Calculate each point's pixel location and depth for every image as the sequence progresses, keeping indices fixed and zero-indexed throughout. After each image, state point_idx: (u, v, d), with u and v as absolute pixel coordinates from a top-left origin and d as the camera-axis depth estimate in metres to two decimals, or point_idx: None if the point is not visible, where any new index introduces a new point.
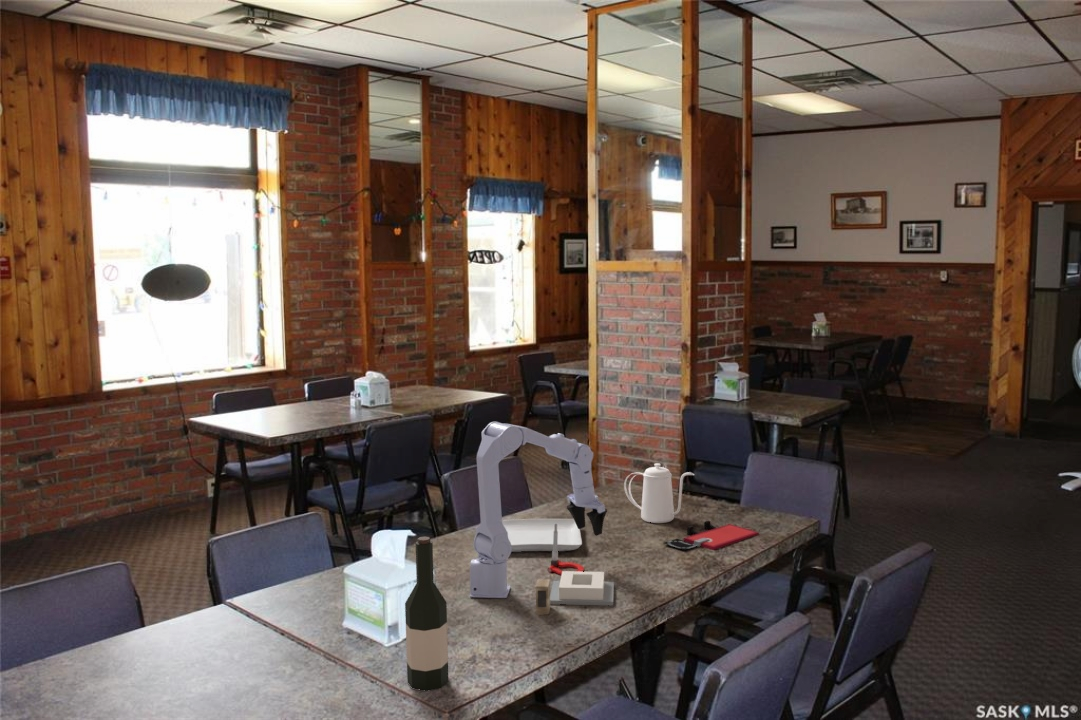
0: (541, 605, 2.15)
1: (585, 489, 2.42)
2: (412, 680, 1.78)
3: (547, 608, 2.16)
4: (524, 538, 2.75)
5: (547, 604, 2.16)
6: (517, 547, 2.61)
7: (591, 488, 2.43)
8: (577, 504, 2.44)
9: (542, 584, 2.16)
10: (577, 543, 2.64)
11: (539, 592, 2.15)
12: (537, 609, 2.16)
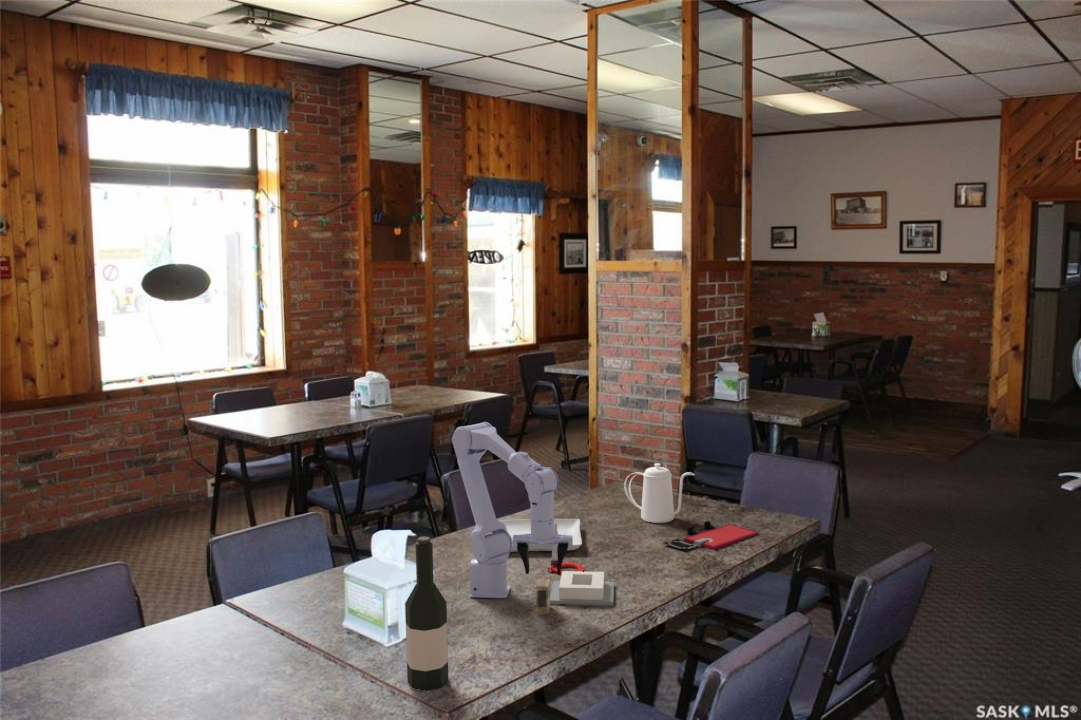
0: (541, 605, 2.15)
1: None
2: (412, 680, 1.78)
3: (547, 608, 2.16)
4: None
5: (547, 604, 2.16)
6: None
7: (531, 522, 2.16)
8: None
9: (542, 584, 2.16)
10: (577, 543, 2.64)
11: (539, 592, 2.15)
12: (537, 609, 2.16)
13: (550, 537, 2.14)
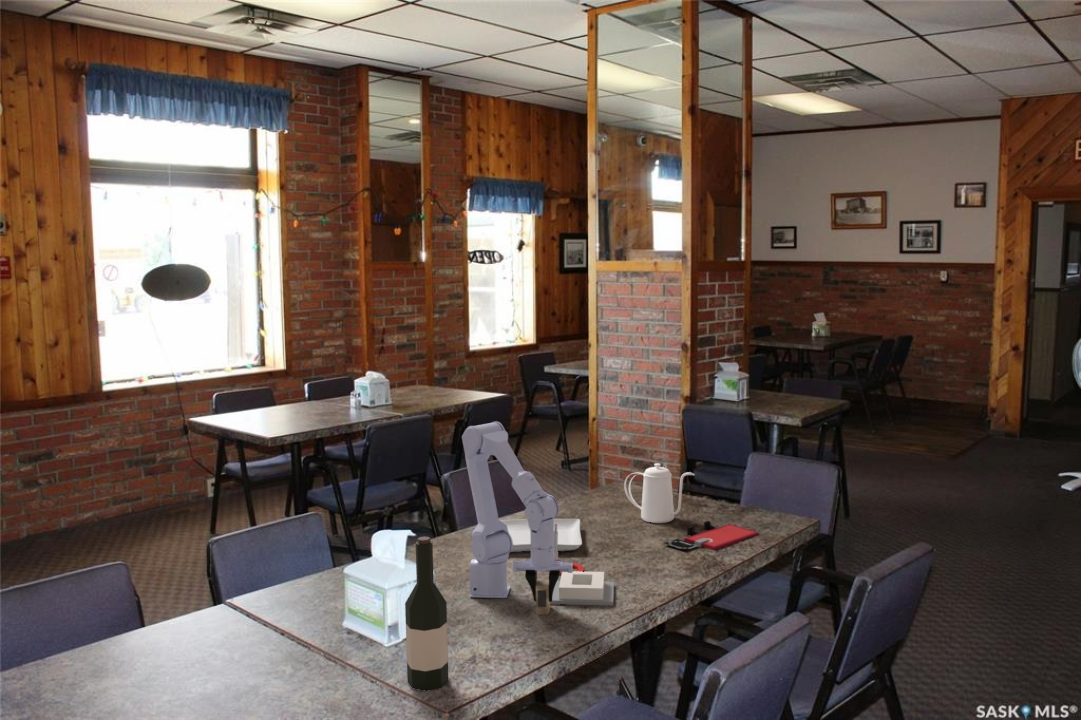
0: (541, 605, 2.15)
1: None
2: (412, 680, 1.78)
3: (547, 608, 2.16)
4: (524, 538, 2.75)
5: (547, 604, 2.16)
6: (517, 547, 2.61)
7: (531, 549, 2.16)
8: None
9: (542, 584, 2.16)
10: (577, 543, 2.64)
11: (539, 592, 2.15)
12: (537, 609, 2.16)
13: (550, 565, 2.15)
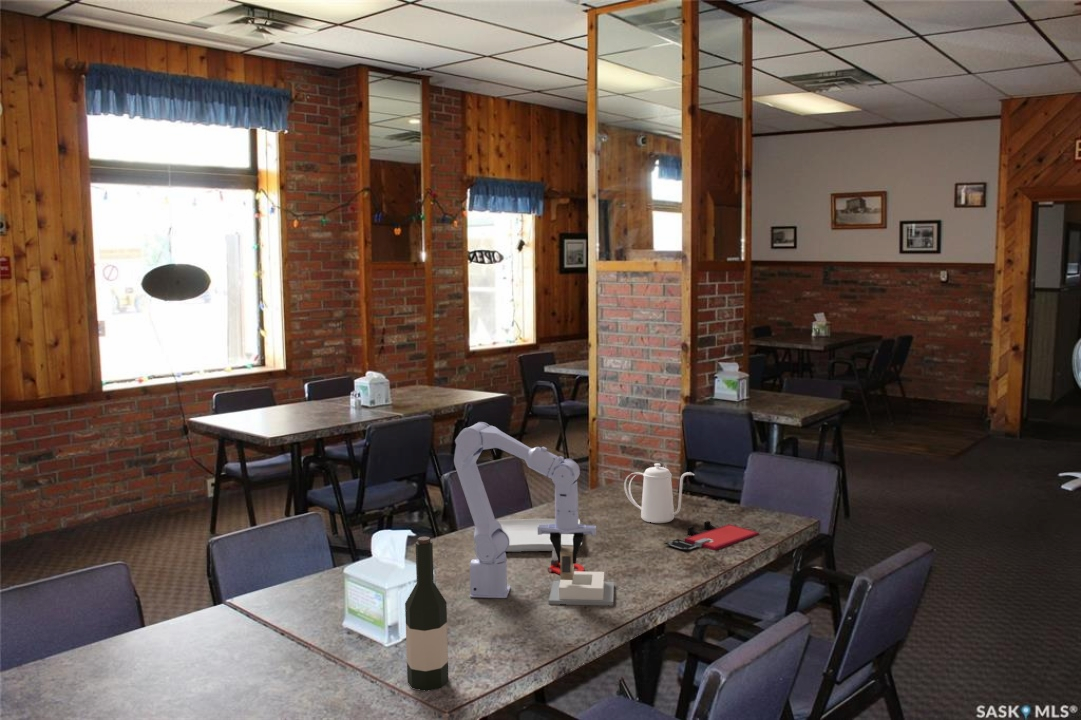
0: (565, 571, 2.20)
1: None
2: (412, 680, 1.78)
3: (571, 574, 2.21)
4: (524, 538, 2.75)
5: (571, 570, 2.21)
6: (517, 547, 2.61)
7: (555, 512, 2.22)
8: None
9: (566, 550, 2.22)
10: None
11: (563, 558, 2.20)
12: (561, 575, 2.21)
13: (574, 527, 2.20)
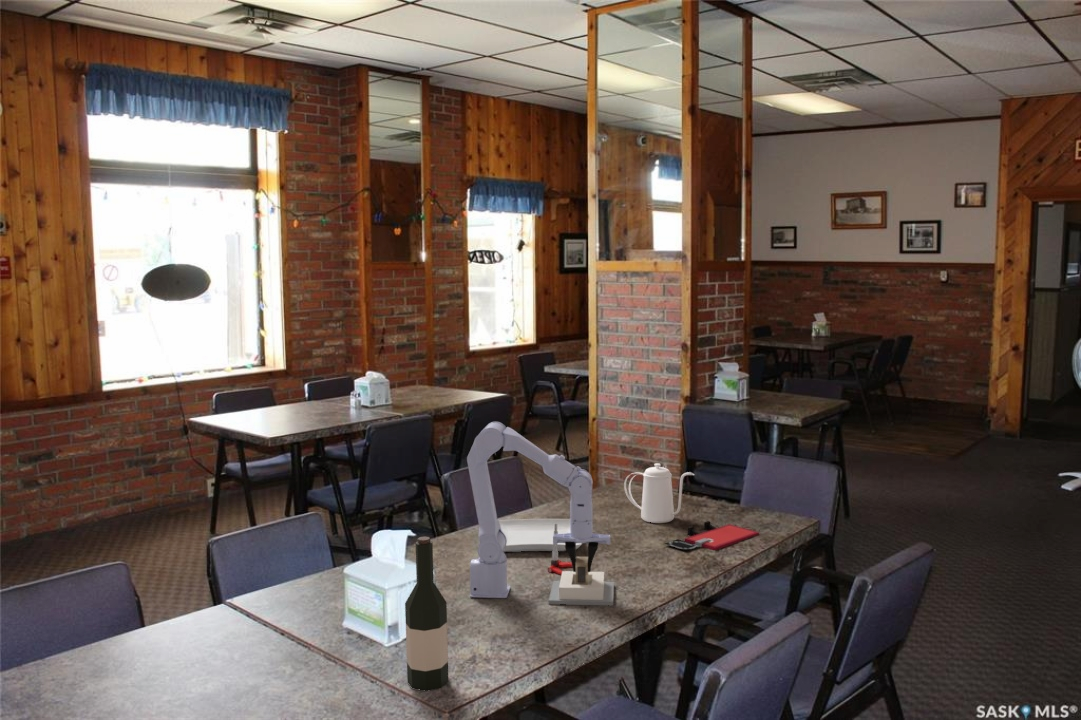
0: (580, 581, 2.25)
1: None
2: (412, 680, 1.78)
3: (586, 583, 2.25)
4: (524, 538, 2.75)
5: (586, 580, 2.25)
6: (517, 547, 2.61)
7: (570, 522, 2.26)
8: None
9: (581, 561, 2.26)
10: (577, 543, 2.64)
11: (579, 568, 2.25)
12: (577, 584, 2.25)
13: (589, 536, 2.25)
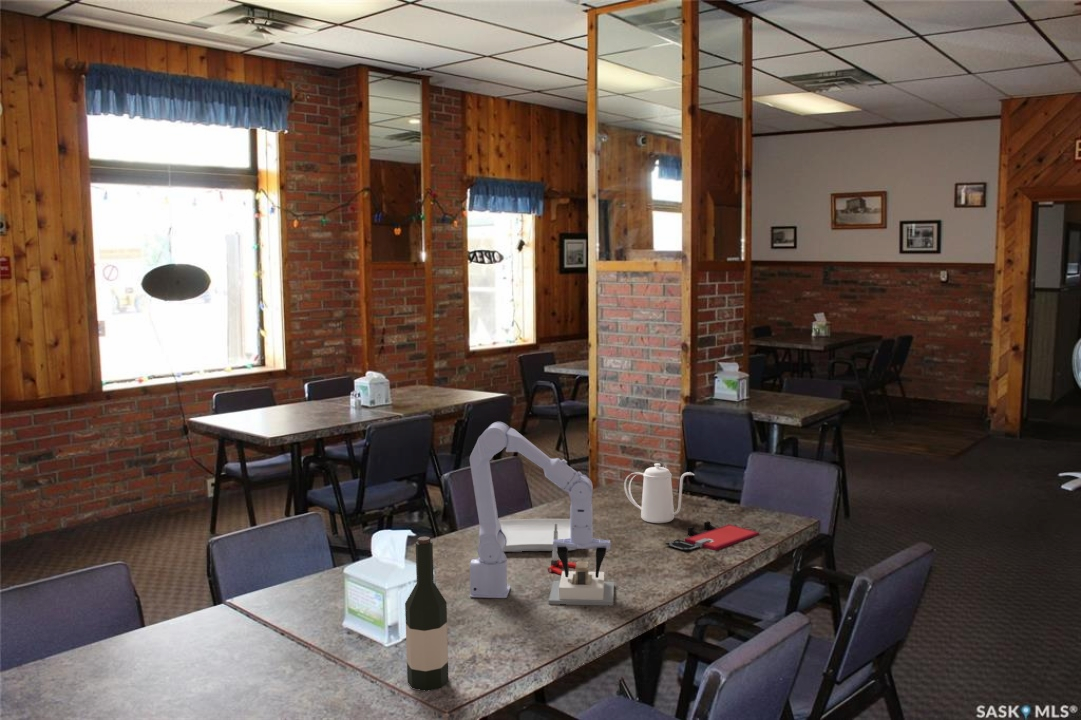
0: None
1: None
2: (412, 680, 1.78)
3: None
4: (524, 538, 2.75)
5: None
6: (517, 547, 2.61)
7: (570, 527, 2.26)
8: None
9: (581, 566, 2.26)
10: None
11: (579, 573, 2.25)
12: None
13: (589, 542, 2.25)
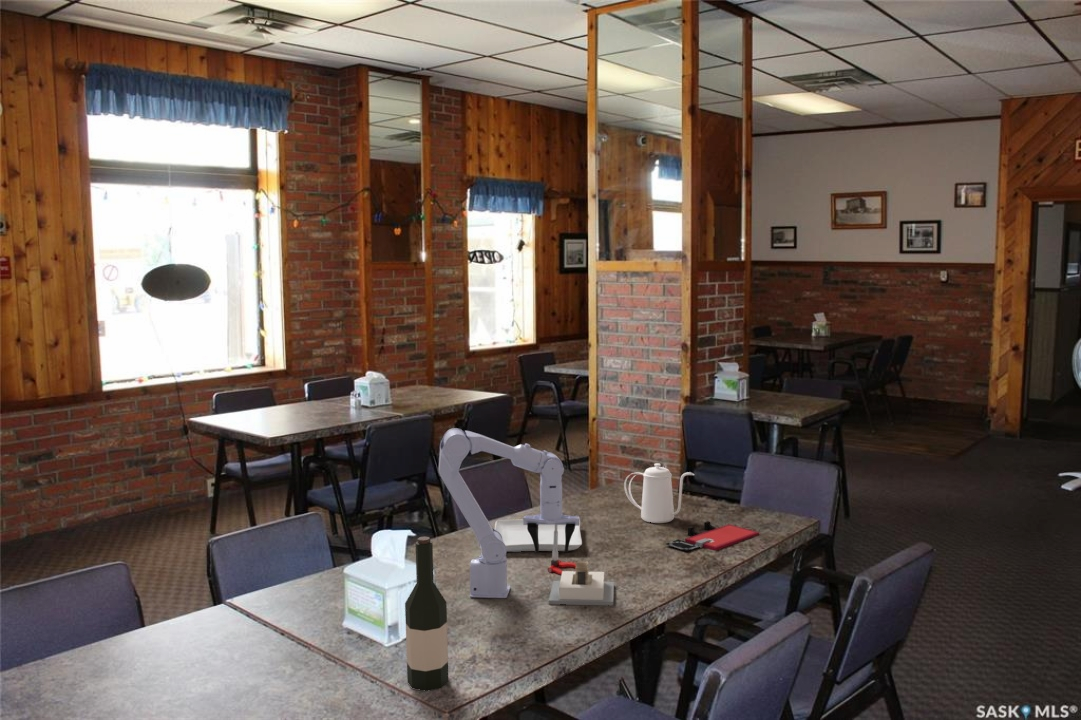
0: None
1: None
2: (412, 680, 1.78)
3: None
4: (524, 538, 2.75)
5: None
6: (517, 547, 2.61)
7: (540, 503, 2.30)
8: None
9: (581, 566, 2.26)
10: (577, 543, 2.64)
11: (579, 573, 2.25)
12: None
13: (558, 518, 2.29)
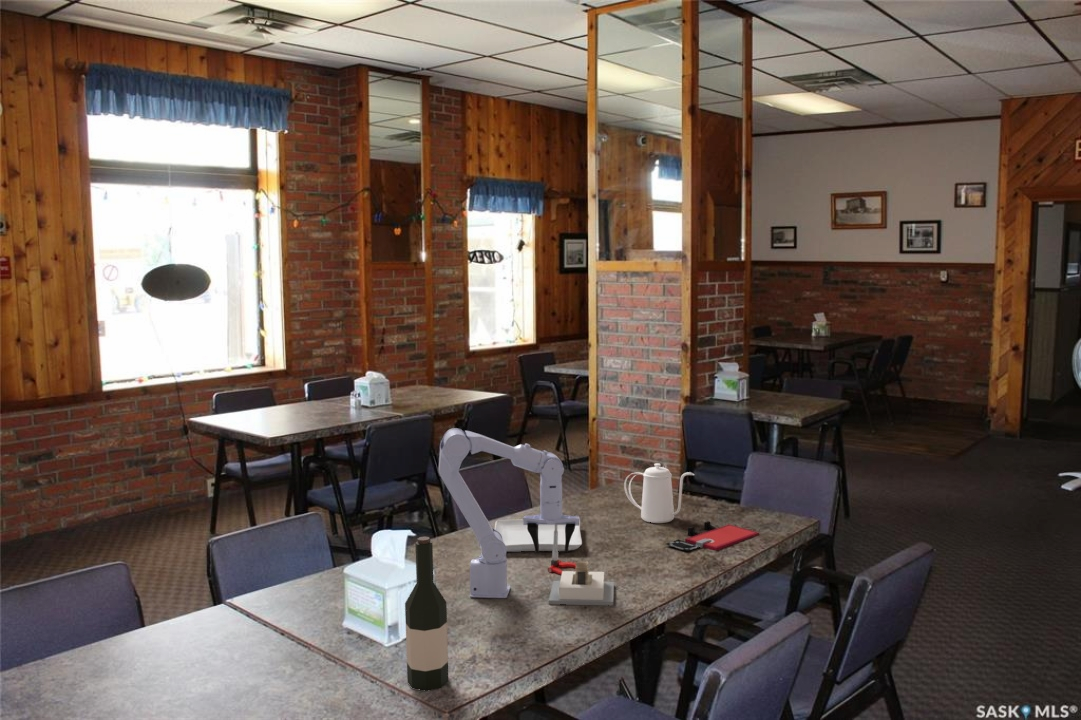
0: None
1: None
2: (412, 680, 1.78)
3: None
4: (524, 538, 2.75)
5: None
6: (517, 547, 2.61)
7: (540, 503, 2.30)
8: None
9: (581, 566, 2.26)
10: (577, 543, 2.64)
11: (579, 573, 2.25)
12: None
13: (558, 518, 2.29)
